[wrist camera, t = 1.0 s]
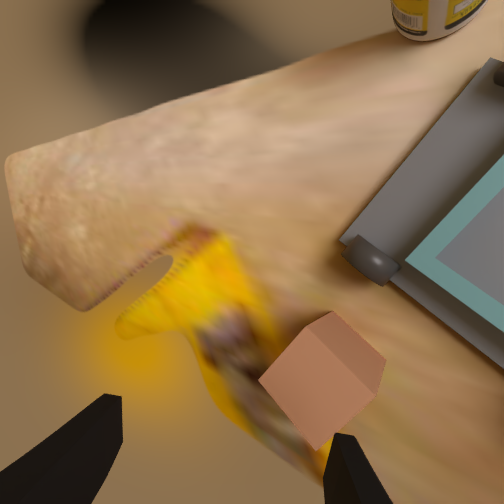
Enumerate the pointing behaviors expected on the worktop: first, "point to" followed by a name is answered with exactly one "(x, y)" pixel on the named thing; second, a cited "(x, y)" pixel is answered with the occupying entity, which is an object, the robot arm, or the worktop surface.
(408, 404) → the worktop surface
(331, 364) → the block
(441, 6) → the supplement bottle
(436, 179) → the chassis
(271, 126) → the worktop surface
